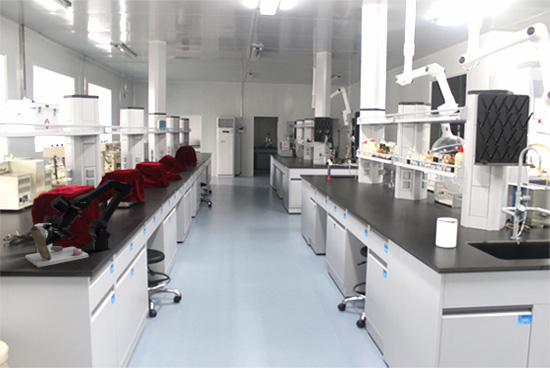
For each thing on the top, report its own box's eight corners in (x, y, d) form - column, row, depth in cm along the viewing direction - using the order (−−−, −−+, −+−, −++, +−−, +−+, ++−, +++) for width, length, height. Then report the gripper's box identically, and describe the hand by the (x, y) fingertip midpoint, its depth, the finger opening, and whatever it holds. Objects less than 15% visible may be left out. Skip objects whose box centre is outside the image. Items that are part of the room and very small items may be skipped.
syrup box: (53, 250, 212) (51, 222, 210) (47, 253, 206) (45, 225, 204) (41, 250, 212) (39, 222, 210) (35, 253, 206) (33, 225, 204)
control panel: (73, 249, 213) (73, 245, 213) (88, 257, 199) (88, 252, 199) (25, 258, 198) (25, 254, 197) (37, 267, 184) (37, 262, 183)
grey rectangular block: (59, 249, 207) (59, 246, 207) (62, 250, 205) (63, 247, 205) (50, 249, 203) (50, 246, 203) (53, 250, 201) (53, 247, 201)
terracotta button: (79, 252, 201) (79, 248, 200) (82, 253, 198) (82, 249, 198) (71, 253, 198) (71, 249, 198) (74, 255, 196) (74, 251, 195)
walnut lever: (46, 256, 193) (33, 224, 188) (52, 258, 190) (39, 225, 184) (41, 259, 192) (27, 226, 186) (47, 261, 188) (33, 228, 182)
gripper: (45, 206, 197) (21, 233, 190) (64, 210, 186) (39, 239, 179) (62, 220, 205) (40, 246, 197) (81, 225, 193) (59, 252, 186)
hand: (44, 246), depth 189 cm, fingers closed, pressing on walnut lever
